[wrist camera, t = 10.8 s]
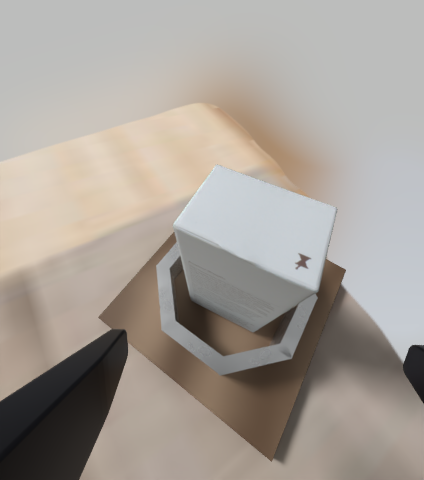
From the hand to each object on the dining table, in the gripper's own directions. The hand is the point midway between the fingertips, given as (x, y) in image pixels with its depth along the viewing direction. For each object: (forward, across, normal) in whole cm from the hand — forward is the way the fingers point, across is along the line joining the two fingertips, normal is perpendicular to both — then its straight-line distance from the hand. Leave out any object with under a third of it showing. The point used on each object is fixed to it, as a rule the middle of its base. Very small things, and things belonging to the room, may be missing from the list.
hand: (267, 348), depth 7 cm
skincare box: (+12, 0, +5) cm, 13 cm away
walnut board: (+12, 0, +5) cm, 13 cm away
